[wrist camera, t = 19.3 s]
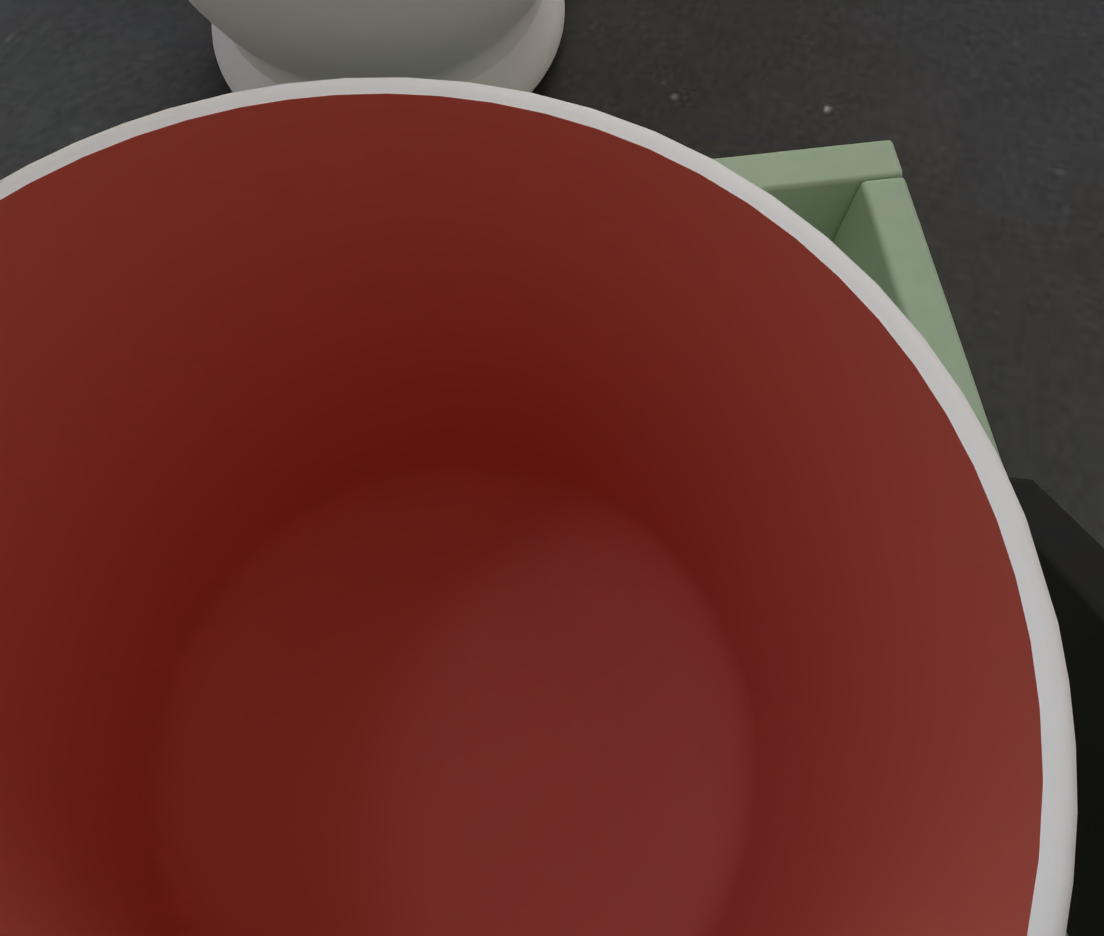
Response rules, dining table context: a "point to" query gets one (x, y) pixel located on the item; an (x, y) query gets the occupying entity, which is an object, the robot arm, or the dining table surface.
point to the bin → (869, 233)
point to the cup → (495, 547)
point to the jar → (384, 40)
